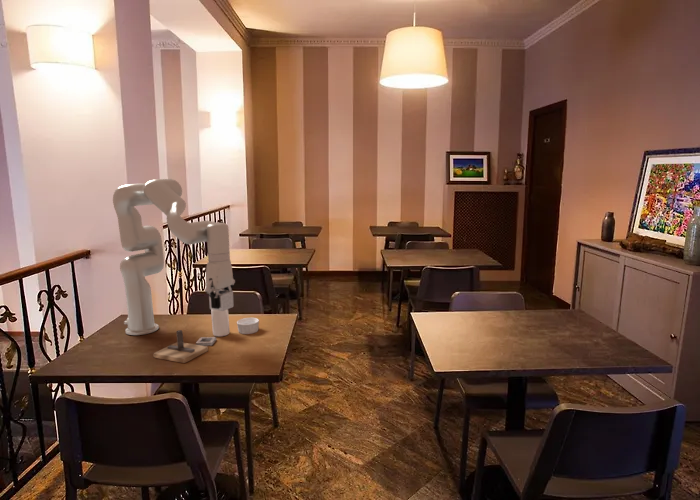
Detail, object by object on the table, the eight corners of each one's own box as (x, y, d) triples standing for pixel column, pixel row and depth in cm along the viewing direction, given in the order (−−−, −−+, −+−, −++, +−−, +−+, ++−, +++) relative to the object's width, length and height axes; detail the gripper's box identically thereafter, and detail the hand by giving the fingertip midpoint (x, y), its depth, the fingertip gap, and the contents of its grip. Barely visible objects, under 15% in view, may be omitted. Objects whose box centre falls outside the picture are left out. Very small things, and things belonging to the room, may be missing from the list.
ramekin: (257, 334, 188) (256, 324, 188) (234, 335, 189) (234, 324, 188) (261, 327, 197) (261, 317, 196) (240, 327, 197) (239, 317, 197)
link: (209, 309, 173) (208, 293, 172) (220, 304, 178) (219, 289, 177) (223, 311, 171) (222, 294, 169) (233, 306, 176) (232, 290, 175)
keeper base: (153, 357, 167) (151, 334, 166) (178, 345, 178) (176, 323, 177) (184, 363, 162) (182, 339, 160) (208, 350, 173) (206, 328, 171)
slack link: (196, 346, 177) (195, 343, 177) (200, 340, 183) (200, 337, 183) (212, 345, 177) (211, 342, 177) (216, 339, 183) (216, 336, 183)
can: (225, 337, 186) (223, 307, 184) (209, 336, 187) (207, 307, 185) (232, 331, 192) (230, 303, 190) (217, 331, 194) (215, 302, 191)
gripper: (226, 252, 180) (228, 298, 184) (194, 260, 165) (197, 311, 168) (242, 254, 177) (244, 300, 181) (211, 262, 162) (214, 313, 165)
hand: (221, 305), depth 174 cm, fingers closed on link, 6 cm apart
